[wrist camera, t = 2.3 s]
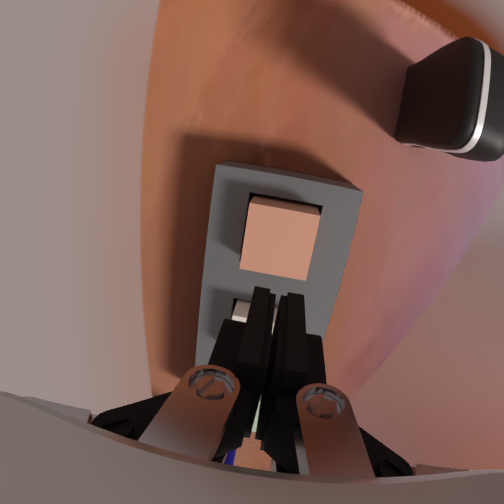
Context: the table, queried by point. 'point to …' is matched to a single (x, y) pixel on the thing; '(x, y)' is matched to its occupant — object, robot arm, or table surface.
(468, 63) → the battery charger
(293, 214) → the terracotta button
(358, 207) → the frame
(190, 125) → the table surface
